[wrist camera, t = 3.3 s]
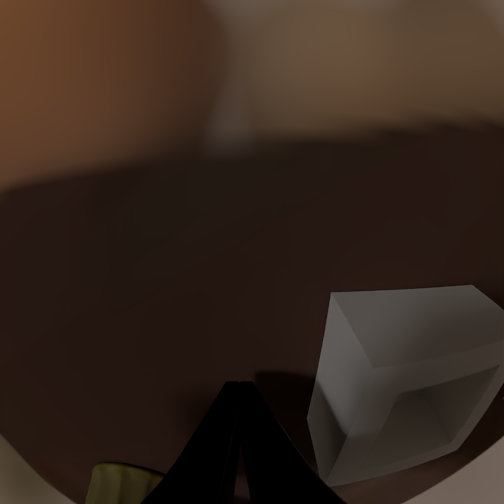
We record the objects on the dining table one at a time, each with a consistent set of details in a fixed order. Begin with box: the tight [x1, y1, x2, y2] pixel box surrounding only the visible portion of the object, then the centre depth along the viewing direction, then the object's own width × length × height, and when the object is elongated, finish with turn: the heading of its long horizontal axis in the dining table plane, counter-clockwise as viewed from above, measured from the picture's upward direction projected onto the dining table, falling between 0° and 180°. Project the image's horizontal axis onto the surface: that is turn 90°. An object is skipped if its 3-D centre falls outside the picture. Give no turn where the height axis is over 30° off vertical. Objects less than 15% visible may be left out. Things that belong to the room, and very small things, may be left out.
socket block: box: [307, 285, 504, 487], centre depth 8 cm, size 6×6×4 cm
